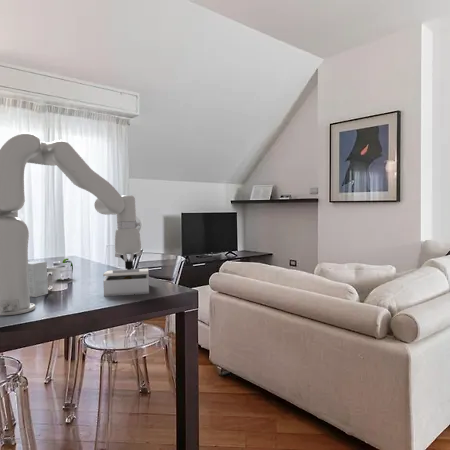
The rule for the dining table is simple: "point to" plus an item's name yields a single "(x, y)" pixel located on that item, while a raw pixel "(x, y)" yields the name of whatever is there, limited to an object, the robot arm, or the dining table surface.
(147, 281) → the white square tray
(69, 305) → the dining table surface
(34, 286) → the small box
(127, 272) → the lid
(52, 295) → the dining table surface
